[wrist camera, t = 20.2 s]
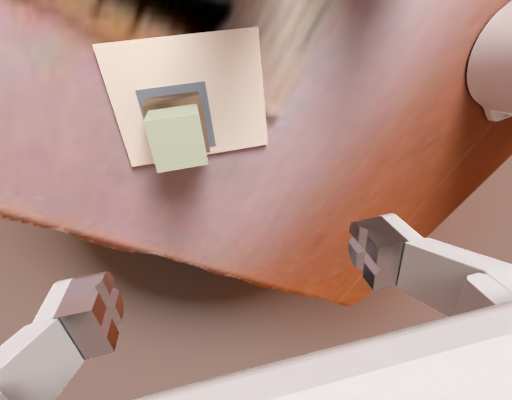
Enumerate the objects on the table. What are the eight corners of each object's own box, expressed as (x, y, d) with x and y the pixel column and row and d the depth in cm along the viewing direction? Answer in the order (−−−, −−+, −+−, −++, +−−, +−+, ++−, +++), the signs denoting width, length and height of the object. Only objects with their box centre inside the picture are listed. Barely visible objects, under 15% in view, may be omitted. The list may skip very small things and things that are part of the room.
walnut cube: (198, 91, 36) (200, 98, 31) (207, 139, 38) (210, 152, 34) (146, 98, 35) (141, 106, 30) (160, 147, 38) (157, 161, 33)
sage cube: (196, 103, 31) (199, 113, 27) (205, 148, 34) (208, 164, 30) (148, 110, 31) (142, 121, 26) (160, 155, 33) (157, 173, 29)
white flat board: (256, 26, 34) (258, 26, 34) (266, 142, 41) (267, 144, 41) (93, 44, 32) (91, 44, 31) (132, 164, 39) (131, 167, 38)
